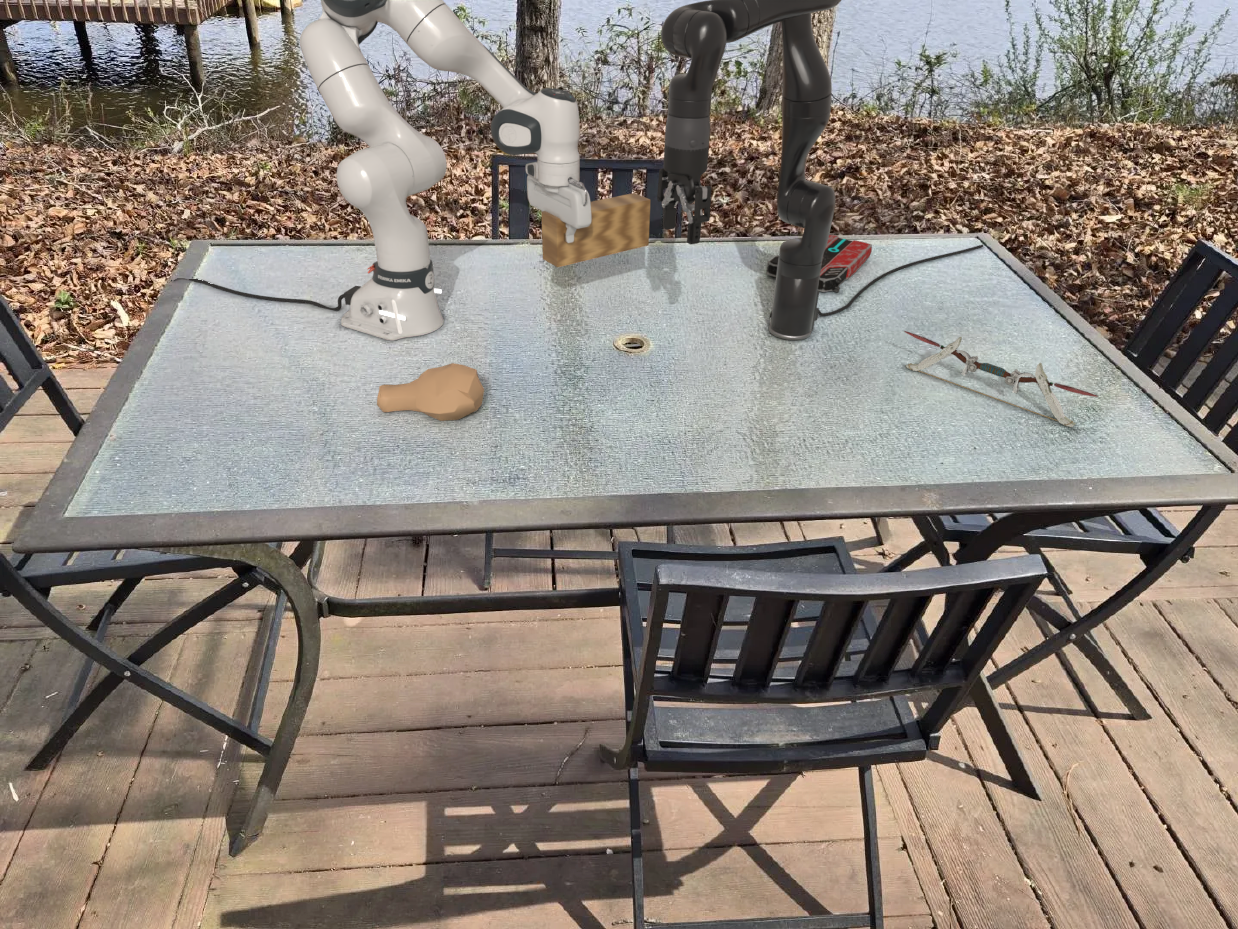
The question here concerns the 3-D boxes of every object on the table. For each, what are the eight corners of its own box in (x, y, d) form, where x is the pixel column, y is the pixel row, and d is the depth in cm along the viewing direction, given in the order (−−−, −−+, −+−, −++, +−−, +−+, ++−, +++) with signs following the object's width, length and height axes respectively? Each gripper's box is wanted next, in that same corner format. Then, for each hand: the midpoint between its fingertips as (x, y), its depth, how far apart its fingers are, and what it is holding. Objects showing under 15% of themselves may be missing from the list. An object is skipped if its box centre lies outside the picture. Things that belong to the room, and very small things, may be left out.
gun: (763, 262, 220) (837, 280, 212) (808, 226, 242) (876, 242, 234) (761, 279, 222) (834, 298, 214) (805, 242, 244) (873, 258, 236)
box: (557, 267, 192) (556, 219, 186) (542, 259, 196) (541, 211, 190) (648, 245, 204) (650, 199, 199) (632, 237, 208) (634, 192, 203)
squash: (485, 427, 160) (474, 388, 154) (378, 435, 161) (363, 397, 155) (491, 389, 168) (481, 351, 162) (390, 398, 169) (376, 360, 163)
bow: (1087, 429, 164) (1105, 382, 158) (1083, 433, 163) (1101, 385, 157) (899, 362, 185) (909, 318, 180) (895, 365, 184) (904, 321, 179)
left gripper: (599, 182, 179) (598, 248, 187) (545, 159, 193) (546, 221, 200) (573, 187, 176) (573, 253, 184) (521, 163, 189) (523, 226, 197)
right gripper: (728, 150, 144) (719, 245, 153) (684, 130, 154) (679, 221, 163) (689, 154, 141) (682, 251, 150) (647, 134, 152) (643, 226, 161)
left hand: (559, 236), depth 192 cm, fingers closed on box, 6 cm apart
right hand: (680, 235), depth 157 cm, fingers open, 8 cm apart
